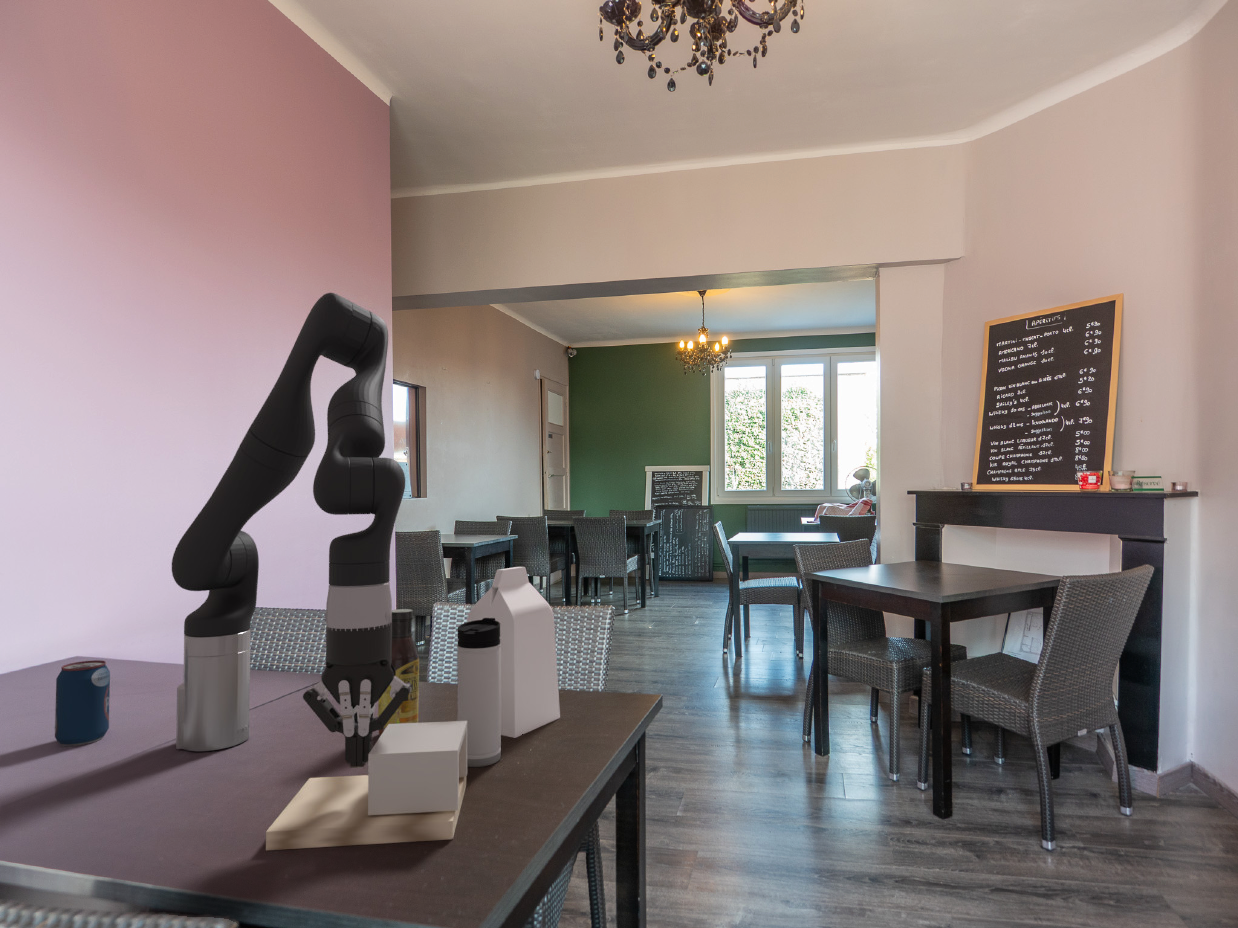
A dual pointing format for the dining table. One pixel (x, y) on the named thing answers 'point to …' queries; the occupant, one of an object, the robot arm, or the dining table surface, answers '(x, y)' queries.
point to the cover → (417, 768)
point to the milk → (522, 651)
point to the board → (352, 818)
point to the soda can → (82, 703)
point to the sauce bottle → (403, 669)
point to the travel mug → (480, 689)
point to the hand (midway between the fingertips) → (358, 764)
